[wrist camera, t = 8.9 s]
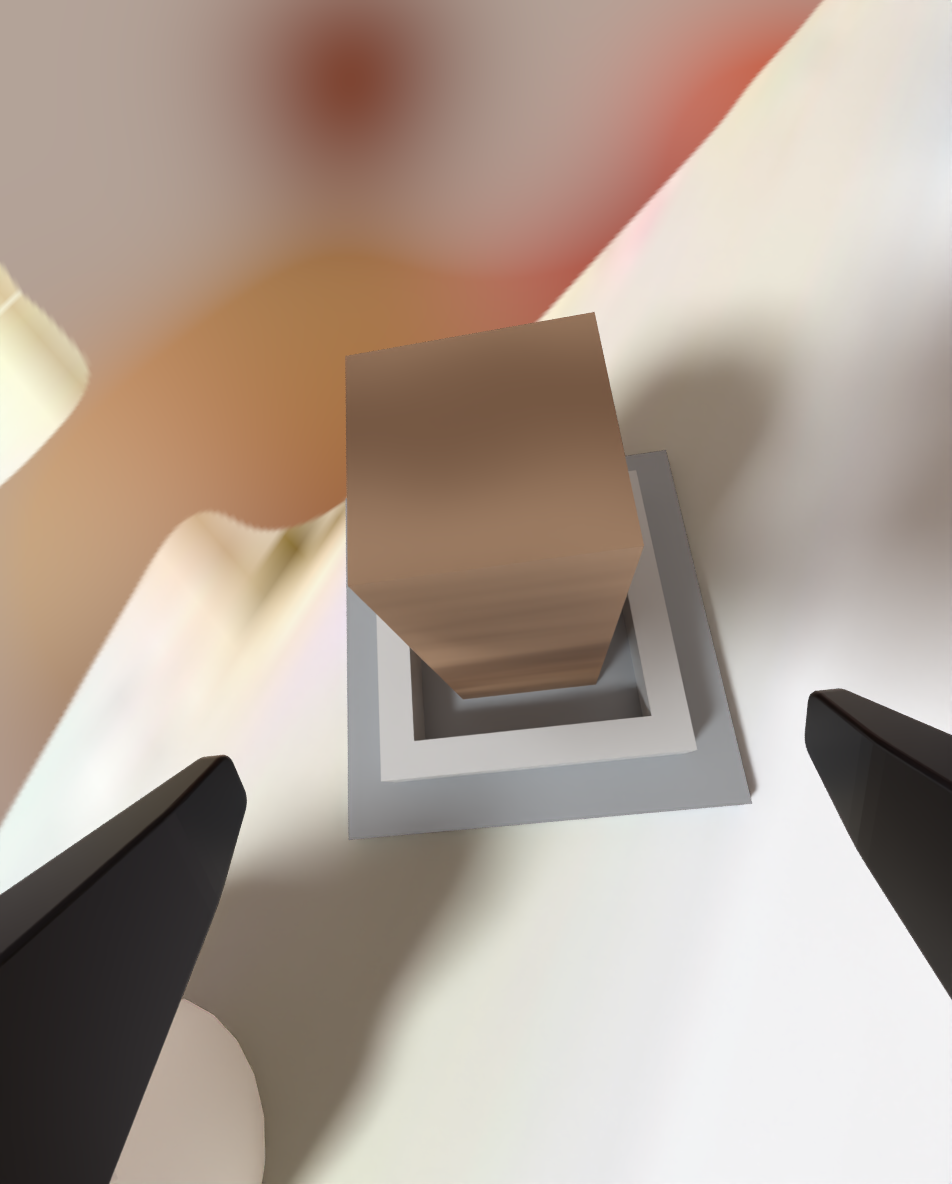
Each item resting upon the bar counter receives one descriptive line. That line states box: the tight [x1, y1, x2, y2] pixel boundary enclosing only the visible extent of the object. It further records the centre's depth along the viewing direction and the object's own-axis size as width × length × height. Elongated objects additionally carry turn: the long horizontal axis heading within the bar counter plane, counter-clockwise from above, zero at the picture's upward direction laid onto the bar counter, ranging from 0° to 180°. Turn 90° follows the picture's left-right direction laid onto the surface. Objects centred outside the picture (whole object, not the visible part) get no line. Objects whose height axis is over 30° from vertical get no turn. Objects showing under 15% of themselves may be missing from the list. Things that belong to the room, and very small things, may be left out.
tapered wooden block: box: [346, 312, 644, 699], centre depth 16 cm, size 5×5×12 cm
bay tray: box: [346, 450, 752, 840], centre depth 21 cm, size 14×14×2 cm
